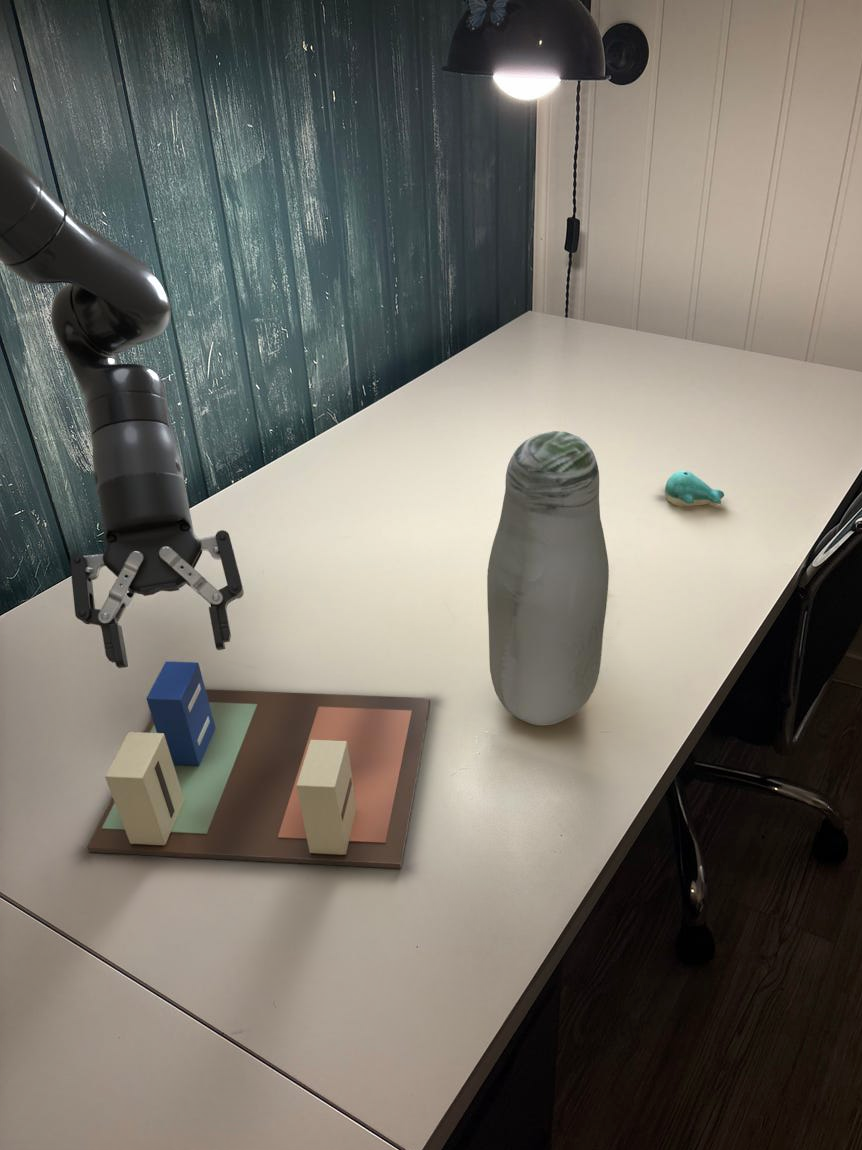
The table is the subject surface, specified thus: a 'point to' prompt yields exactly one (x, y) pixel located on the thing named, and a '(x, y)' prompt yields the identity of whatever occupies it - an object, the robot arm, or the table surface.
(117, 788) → the tile
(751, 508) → the table surface
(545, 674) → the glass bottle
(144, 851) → the brown flat rectangular board
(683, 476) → the whale figurine
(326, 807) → the tile
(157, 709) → the blue rectangular block
